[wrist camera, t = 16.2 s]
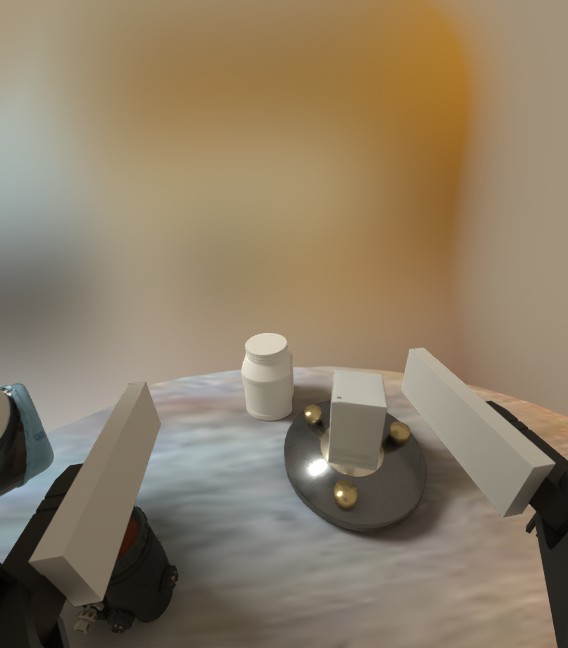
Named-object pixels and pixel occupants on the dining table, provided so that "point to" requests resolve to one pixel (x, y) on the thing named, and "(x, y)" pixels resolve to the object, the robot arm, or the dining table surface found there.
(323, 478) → the base
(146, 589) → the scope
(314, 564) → the dining table surface
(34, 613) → the robot arm
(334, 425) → the supplement box
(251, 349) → the jar
